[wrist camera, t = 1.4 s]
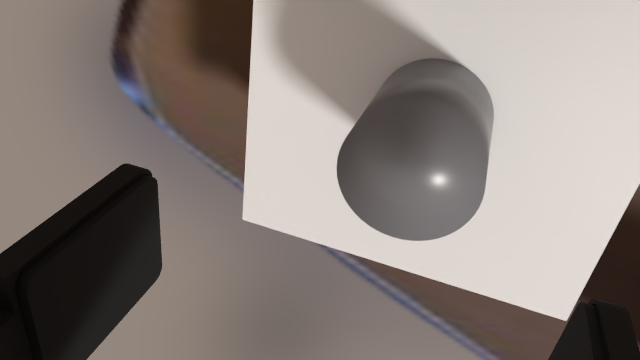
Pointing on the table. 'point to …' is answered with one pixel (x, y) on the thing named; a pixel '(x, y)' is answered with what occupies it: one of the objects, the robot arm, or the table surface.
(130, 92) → the table surface
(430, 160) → the lid
